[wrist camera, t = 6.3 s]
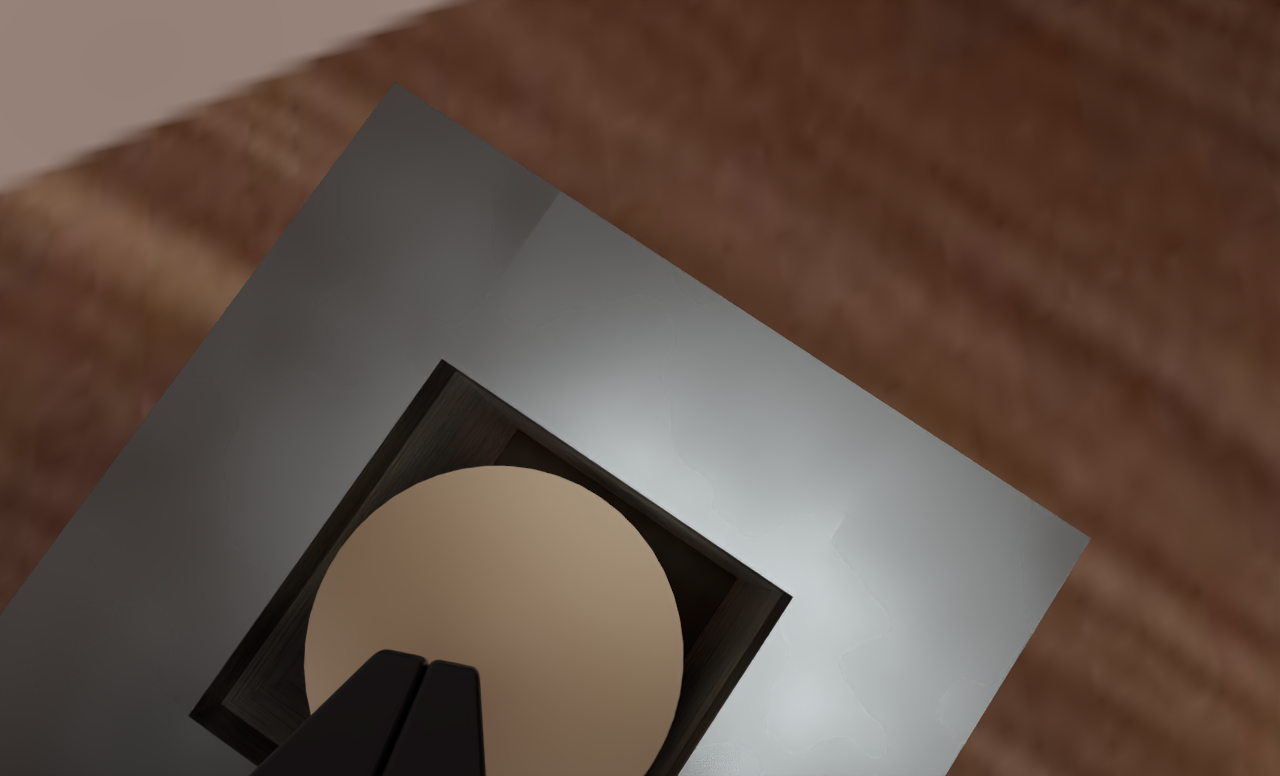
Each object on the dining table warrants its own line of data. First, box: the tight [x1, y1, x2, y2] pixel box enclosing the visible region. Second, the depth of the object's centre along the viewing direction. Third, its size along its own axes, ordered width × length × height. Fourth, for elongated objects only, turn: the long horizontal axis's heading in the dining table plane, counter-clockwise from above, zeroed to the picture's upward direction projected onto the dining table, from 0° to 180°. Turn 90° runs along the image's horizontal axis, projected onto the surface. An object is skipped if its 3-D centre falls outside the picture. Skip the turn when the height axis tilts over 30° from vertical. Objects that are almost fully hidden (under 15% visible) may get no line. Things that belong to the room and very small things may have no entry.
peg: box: [304, 466, 683, 776], centre depth 17 cm, size 4×4×8 cm
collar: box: [0, 83, 1091, 776], centre depth 17 cm, size 10×10×8 cm
